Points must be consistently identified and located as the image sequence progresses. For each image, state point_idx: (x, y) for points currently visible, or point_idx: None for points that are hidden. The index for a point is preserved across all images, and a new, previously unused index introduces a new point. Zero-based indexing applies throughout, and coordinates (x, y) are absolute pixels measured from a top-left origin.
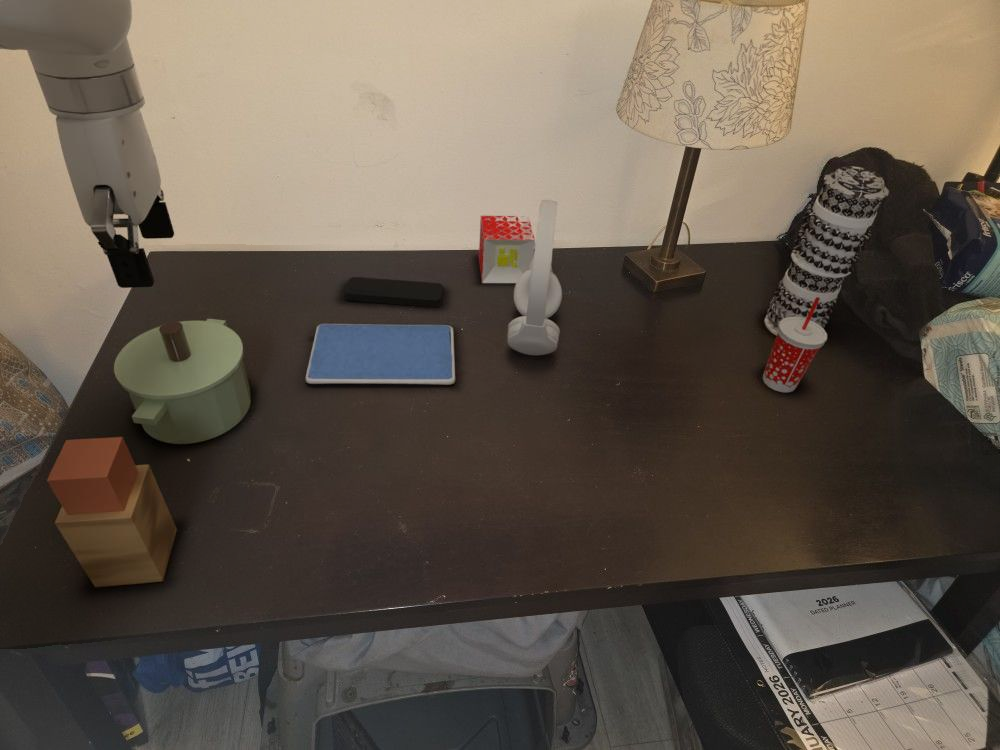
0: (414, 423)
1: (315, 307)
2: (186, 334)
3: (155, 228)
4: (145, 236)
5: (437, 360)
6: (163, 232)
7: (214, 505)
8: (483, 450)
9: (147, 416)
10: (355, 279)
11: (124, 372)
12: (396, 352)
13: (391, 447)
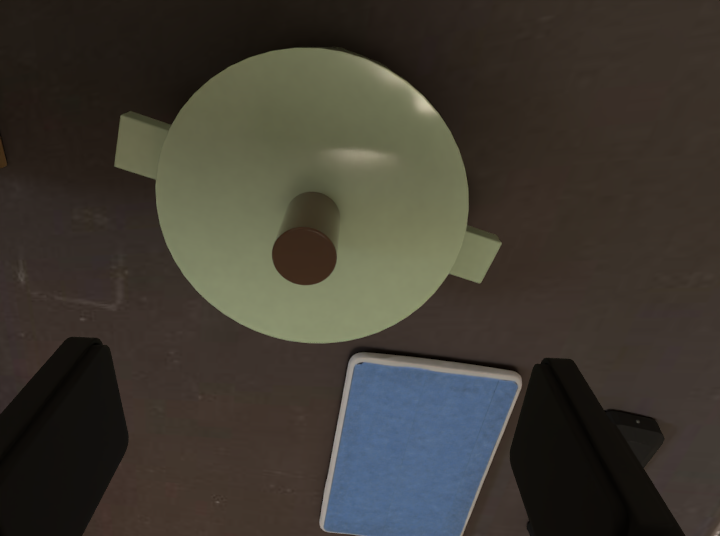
0: (246, 472)
1: (601, 363)
2: (403, 221)
3: (535, 455)
4: (535, 377)
5: (370, 521)
6: (524, 457)
7: (67, 218)
8: (189, 530)
9: (122, 152)
10: (646, 446)
11: (251, 86)
12: (402, 478)
13: (198, 444)
